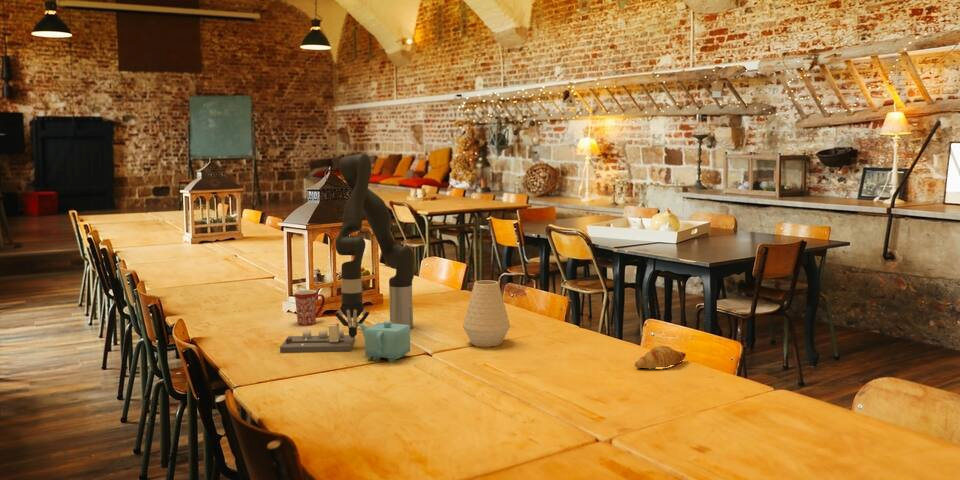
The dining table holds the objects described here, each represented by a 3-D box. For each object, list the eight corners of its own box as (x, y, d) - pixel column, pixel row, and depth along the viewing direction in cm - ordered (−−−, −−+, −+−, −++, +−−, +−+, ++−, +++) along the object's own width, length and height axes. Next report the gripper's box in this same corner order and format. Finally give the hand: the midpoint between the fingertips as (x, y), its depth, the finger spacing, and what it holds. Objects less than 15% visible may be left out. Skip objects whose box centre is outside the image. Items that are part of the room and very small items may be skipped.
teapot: (413, 353, 284) (412, 318, 283) (394, 365, 270) (393, 328, 268) (367, 349, 290) (366, 314, 288) (346, 361, 275) (345, 324, 274)
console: (355, 340, 304) (354, 328, 303) (350, 351, 288) (350, 339, 287) (288, 341, 302) (288, 330, 302) (280, 352, 287) (279, 340, 286)
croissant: (640, 382, 260) (648, 364, 256) (623, 362, 268) (630, 344, 263) (689, 371, 271) (697, 354, 266) (671, 352, 278) (679, 334, 273)
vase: (517, 340, 302) (517, 280, 299) (498, 351, 286) (498, 288, 283) (475, 335, 309) (475, 277, 306) (455, 346, 293) (454, 284, 290)
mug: (299, 327, 325) (298, 294, 323) (292, 322, 333) (291, 291, 331) (329, 323, 331) (328, 291, 329) (321, 319, 339) (320, 288, 337)
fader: (339, 338, 296) (339, 322, 295) (337, 342, 291) (337, 325, 290) (331, 338, 296) (330, 322, 295) (329, 342, 291) (328, 325, 290)
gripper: (371, 288, 296) (372, 334, 298) (334, 288, 295) (336, 334, 297) (369, 292, 288) (370, 339, 290) (332, 292, 288) (333, 339, 290)
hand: (352, 336), depth 294 cm, fingers closed
